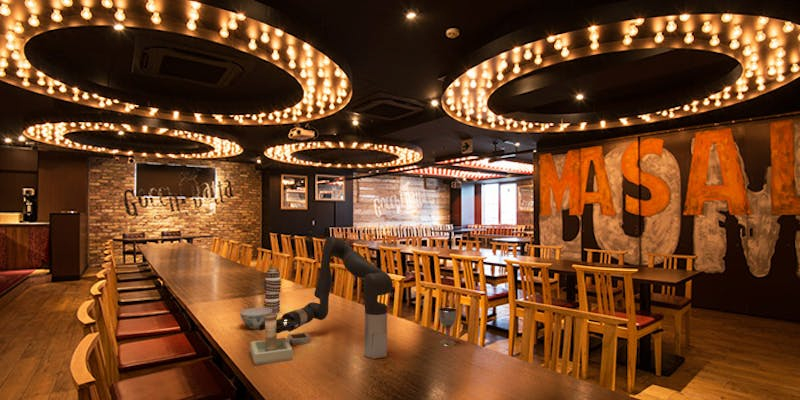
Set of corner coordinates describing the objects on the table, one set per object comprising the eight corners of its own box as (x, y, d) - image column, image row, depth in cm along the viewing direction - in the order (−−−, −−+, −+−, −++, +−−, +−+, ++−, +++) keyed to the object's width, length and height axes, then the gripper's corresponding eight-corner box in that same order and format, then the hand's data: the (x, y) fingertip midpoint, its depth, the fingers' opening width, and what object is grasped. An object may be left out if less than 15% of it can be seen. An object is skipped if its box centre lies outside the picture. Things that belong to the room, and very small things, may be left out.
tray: (292, 359, 156) (292, 349, 156) (254, 365, 150) (254, 354, 150) (285, 346, 170) (285, 337, 170) (250, 351, 164) (250, 341, 164)
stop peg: (278, 353, 159) (277, 315, 159) (265, 355, 157) (264, 317, 157) (276, 349, 163) (275, 313, 164) (263, 351, 161) (263, 314, 162)
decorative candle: (260, 315, 221) (261, 270, 221) (268, 311, 230) (269, 267, 230) (275, 316, 219) (276, 270, 220) (283, 312, 228) (284, 268, 229)
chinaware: (234, 326, 199) (234, 311, 199) (262, 320, 210) (262, 306, 210) (248, 333, 188) (249, 316, 189) (277, 326, 199) (277, 311, 200)
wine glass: (459, 343, 178) (460, 309, 179) (449, 347, 172) (449, 312, 173) (445, 339, 184) (445, 306, 184) (435, 343, 178) (435, 309, 178)
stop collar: (311, 342, 176) (311, 337, 177) (290, 345, 172) (290, 340, 172) (306, 336, 185) (306, 332, 185) (286, 338, 181) (286, 334, 181)
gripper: (281, 308, 176) (254, 317, 161) (308, 312, 170) (282, 322, 156) (281, 325, 176) (254, 336, 161) (307, 330, 170) (282, 341, 155)
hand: (268, 329), depth 158 cm, fingers open, 8 cm apart
